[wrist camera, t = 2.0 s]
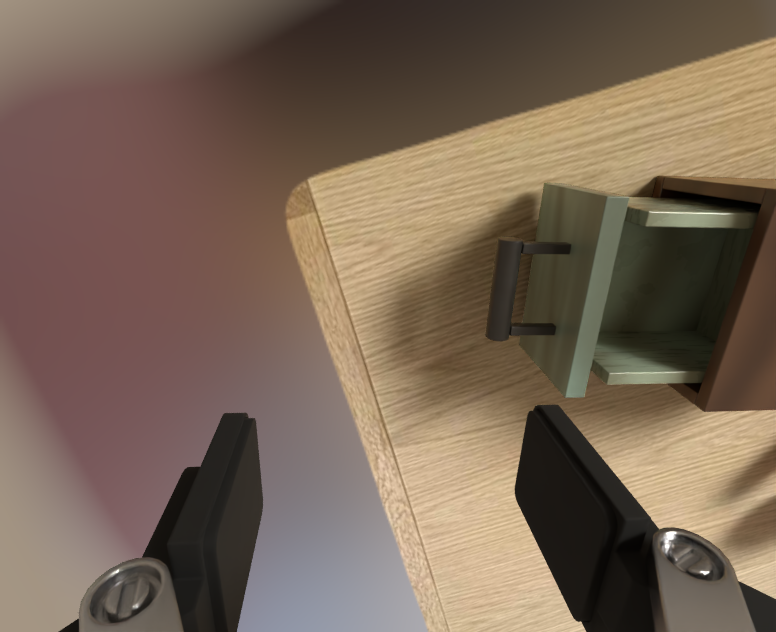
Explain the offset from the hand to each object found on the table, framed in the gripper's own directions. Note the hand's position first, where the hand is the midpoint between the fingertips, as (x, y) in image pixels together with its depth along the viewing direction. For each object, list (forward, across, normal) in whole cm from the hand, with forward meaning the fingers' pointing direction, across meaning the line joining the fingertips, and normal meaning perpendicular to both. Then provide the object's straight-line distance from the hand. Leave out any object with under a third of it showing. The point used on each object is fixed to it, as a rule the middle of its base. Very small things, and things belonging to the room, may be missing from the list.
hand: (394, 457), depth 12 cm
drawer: (+19, -16, 0) cm, 25 cm away
